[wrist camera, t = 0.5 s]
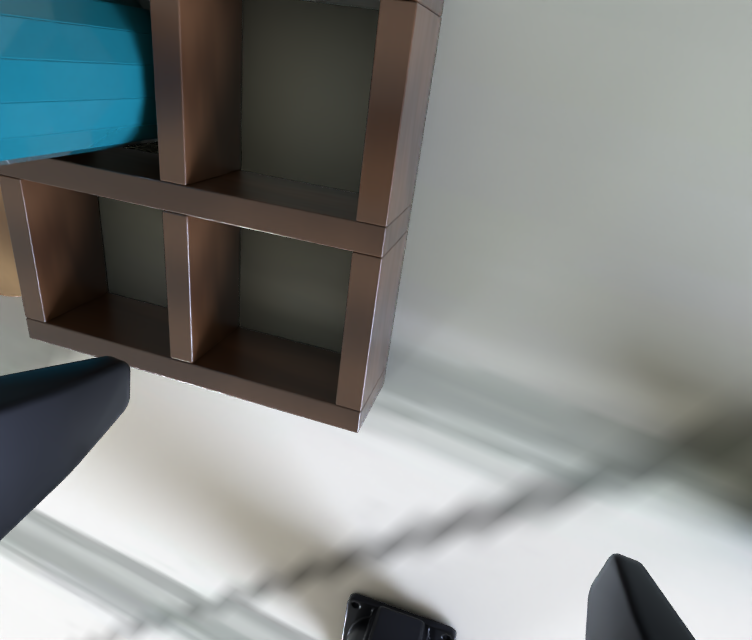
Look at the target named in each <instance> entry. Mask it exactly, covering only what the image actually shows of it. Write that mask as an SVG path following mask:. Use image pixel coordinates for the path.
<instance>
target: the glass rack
mask: <svg viewBox="0 0 752 640" xmlns="http://www.w3.org/2000/svg"><path fill="white" fill-rule="evenodd" d="M301 1H310V2H318V3H326V4H335V5H343V6H351V7H360V8H368V9H376V10H379V16H378V25H377V34H376V43H375V52H374V61H373V70H372V79H371V88H370V97H369V106H368V115H367V124H366V133H365V142H364V151H363V160H362V169H361V178H360V187H359V193H355V192H349V191H344V190H339V189H334V188H329V187H324V186H319V185H313V184H308V183H303V182H298V181H293V180H288V179H283V178H277V177H272V176H267V175H262V174H257V173H252V172H247V171H242V170H240V169H241V100H242V0H150V15H151V32H152V49H153V66H154V84H155V101H156V118H157V135H158V153H159V154H154V153H149V152H144V151H139V150H134V149H129V148H123V147H119V148H112V149H106V150H99V151H92V152H86V153H79V154H72V155H66V156H59V157H53V158H46V159H39V160H33V161H26V162H20V163H13V164H6V165H0V187H1V192H2V197H3V202H4V207H5V213H6V218H7V223H8V228H9V233H10V238H11V244H12V249H13V254H14V259H15V264H16V269H17V275H18V280H19V285H20V290H21V295H22V300H23V306H24V311H25V316H26V317H27V318H26V320H27V325H28V330H29V335H30V338H33V339H36V340H39V341H43V342H46V343H50V344H53V345H57V346H60V347H64V348H67V349H70V350H74V351H77V352H81V353H84V354H88V355H91V356H94V357H102V356H112V357H114V358H117V359H120V360H122V361H125V362H126V363H128V364H129V367H132V368H136V369H139V370H143V371H146V372H149V373H153V374H156V375H160V376H163V377H167V378H170V379H174V380H177V381H180V382H184V383H187V384H191V385H194V386H198V387H201V388H205V389H208V390H211V391H215V392H218V393H222V394H225V395H229V396H232V397H235V398H239V399H242V400H246V401H249V402H253V403H256V404H260V405H263V406H266V407H270V408H273V409H277V410H280V411H284V412H287V413H290V414H294V415H297V416H301V417H304V418H308V419H311V420H315V421H318V422H321V423H325V424H328V425H332V426H335V427H339V428H342V429H346V430H349V431H352V432H356V433H358V432H359V430H360V428H361V426H362V424H363V422H364V420H365V418H366V416H367V415H368V413H369V411H370V409H371V407H372V405H373V403H374V401H375V399H376V397H377V396H378V394H379V392H380V390H381V388H382V386H383V384H384V379H385V372H386V365H387V360H388V354H389V347H390V341H391V335H392V328H393V322H394V316H395V309H396V303H397V297H398V290H399V284H400V278H401V271H402V265H403V259H404V252H405V246H406V240H407V233H408V227H409V220H410V214H411V208H412V202H413V195H414V189H415V183H416V176H417V170H418V164H419V157H420V151H421V145H422V138H423V132H424V126H425V119H426V113H427V106H428V100H429V94H430V87H431V81H432V75H433V68H434V62H435V56H436V49H437V43H438V37H439V30H440V24H441V18H440V16H441V15H442V10H443V3H444V0H301ZM98 196H101V197H106V198H111V199H115V200H120V201H124V202H129V203H133V204H138V205H143V206H147V207H152V208H156V209H161V210H163V212H162V217H163V234H164V251H165V269H166V286H167V303H168V308H165V307H161V306H157V305H153V304H149V303H146V302H142V301H138V300H134V299H130V298H126V297H123V296H119V295H115V294H111V293H107V292H108V285H107V277H106V268H105V259H104V250H103V241H102V232H101V223H100V214H99V205H98ZM240 227H243V228H248V229H252V230H257V231H261V232H266V233H271V234H275V235H280V236H284V237H289V238H294V239H298V240H303V241H307V242H312V243H316V244H321V245H326V246H330V247H335V248H339V249H344V250H348V251H353V253H352V260H351V269H350V278H349V287H348V296H347V305H346V314H345V323H344V332H343V341H342V350H341V353H337V352H334V351H330V350H326V349H322V348H318V347H314V346H311V345H307V344H303V343H299V342H295V341H291V340H288V339H284V338H280V337H276V336H272V335H268V334H265V333H261V332H257V331H253V330H249V329H245V328H242V327H238V326H239V279H240Z"/></svg>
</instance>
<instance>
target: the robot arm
mask: <svg viewBox="0 0 752 640" xmlns="http://www.w3.org/2000/svg"><path fill="white" fill-rule="evenodd" d="M129 399H130V367H129V364H128V363H126V362H125V361H122V360H120V359H117V358H114V357H112V356H102V357H97V358H92V359H87V360H81V361H76V362H71V363H66V364H61V365H55V366H50V367H45V368H40V369H35V370H29V371H24V372H19V373H14V374H9V375H3V376H0V540H1V539H2V538H4V537H5V536H6V535H7V534H8V533H9V532H10V531H11V530H12V529H13V528H14V527H15V526H16V525H17V524H18V523H19V522H20V521H21V520H22V519H23V518H24V517H25V516H26V515H27V514H29V513H30V512H31V511H32V510H33V509H34V508H35V507H36V506H37V505H38V504H39V503H40V502H41V501H42V500H43V499H44V498H45V497H46V496H47V495H48V494H49V493H50V492H51V491H53V490H54V489H55V488H56V487H57V486H58V485H59V484H60V483H61V482H62V481H63V480H64V479H65V478H66V477H67V476H68V475H69V474H70V473H71V472H72V471H73V469H74V468H75V467H76V466H77V465H78V464H79V463H80V462H81V461H82V459H83V458H84V457H85V456H86V455H87V454H88V452H89V451H90V450H91V449H92V448H93V447H94V445H95V444H96V443H97V442H98V441H99V440H100V438H101V437H102V436H103V435H104V434H105V433H106V431H107V430H108V429H109V428H110V427H111V426H112V424H113V423H114V422H115V421H116V420H117V419H118V418H119V416H120V415H121V414H122V413H123V412H124V410H125V409H126V407H127V405H128V403H129ZM342 640H456V631H455V630H454V629H453V628H452V627H450V626H447V625H444V624H442V623H439V622H436V621H433V620H430V619H428V618H425V617H422V616H419V615H416V614H414V613H411V612H408V611H405V610H402V609H399V608H397V607H394V606H391V605H388V604H385V603H383V602H380V601H377V600H374V599H371V598H368V597H366V596H363V595H360V594H356V593H354V594H351V595H350V597H349V600H348V603H347V610H346V616H345V622H344V629H343V635H342ZM585 640H695V638H694V637H693V636H692V634H691V633H690V631H689V630H688V628H687V627H686V626H685V624H684V623H683V621H682V620H681V618H680V617H679V616H678V614H677V613H676V611H675V610H674V609H673V607H672V606H671V604H670V603H669V601H668V600H667V599H666V597H665V596H664V594H663V593H662V592H661V590H660V589H659V587H658V586H657V584H656V583H655V582H654V580H653V579H652V577H651V576H650V574H649V573H648V572H647V570H646V569H645V567H644V566H643V565H642V564H641V563H640V562H638V561H636V560H633V559H631V558H628V557H626V556H623V555H621V554H613V555H611V556H610V557H609V559H608V560H607V562H606V563H605V565H604V566H603V568H602V569H601V571H600V572H599V574H598V576H597V577H596V579H595V580H594V582H593V583H592V585H591V588H590V591H589V595H588V606H587V622H586V639H585Z"/></svg>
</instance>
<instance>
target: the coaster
mask: <svg viewBox="0 0 752 640" xmlns="http://www.w3.org/2000/svg"><path fill="white" fill-rule="evenodd" d="M0 295H3V296H11V297H18V296H22V295H21V290H20V285H19V280H18V275H17V269H16V264H15V259H14V254H13V249H12V244H11V238H10V233H9V228H8V223H7V218H6V213H5V207H4V202H3V197H2V192H1V187H0Z"/></svg>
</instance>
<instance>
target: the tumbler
mask: <svg viewBox="0 0 752 640" xmlns="http://www.w3.org/2000/svg"><path fill="white" fill-rule="evenodd" d="M156 141H158V135H157V118H156V101H155V84H154V66H153V49H152V32H151V15H150V1H149V0H0V165H6V164H13V163H20V162H26V161H33V160H39V159H46V158H53V157H59V156H66V155H72V154H79V153H86V152H92V151H99V150H106V149H112V148H119V147H125V146H132V145H139V144H145V143H152V142H156Z"/></svg>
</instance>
